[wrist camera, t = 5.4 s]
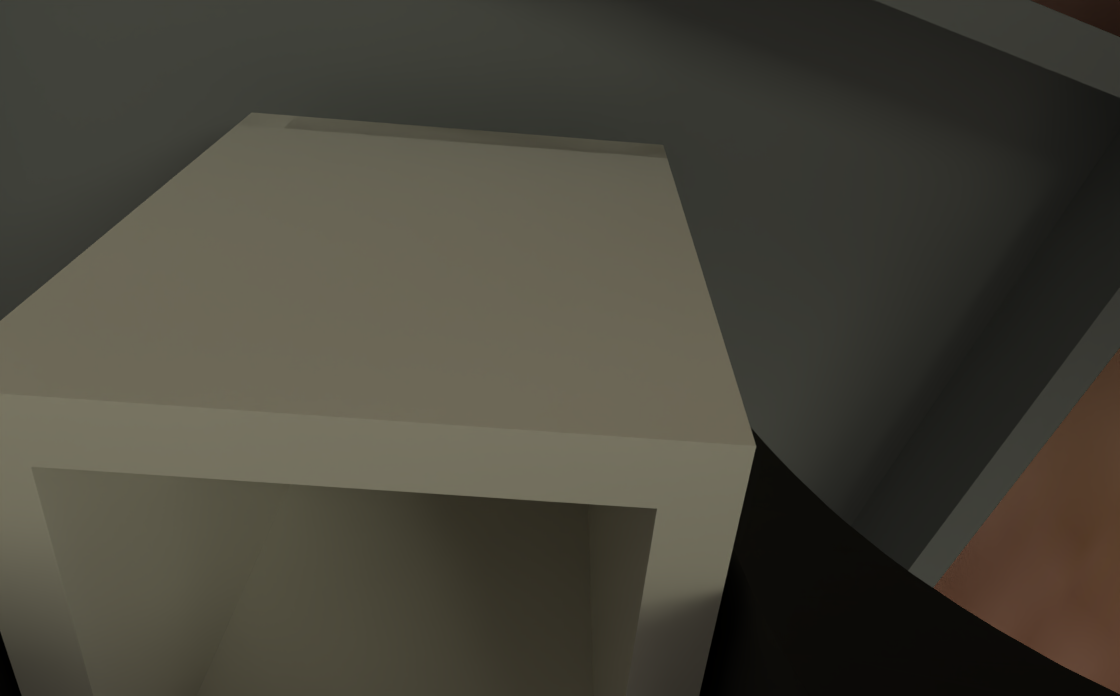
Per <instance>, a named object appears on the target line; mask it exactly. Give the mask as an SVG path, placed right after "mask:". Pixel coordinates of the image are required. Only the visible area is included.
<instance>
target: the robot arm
mask: <svg viewBox="0 0 1120 696" xmlns="http://www.w3.org/2000/svg"><path fill="white" fill-rule="evenodd" d="M750 428H751V427H750ZM751 431H752V434H753V437H754V441H755V444H756V449H755V454H754V458H753V462H752V467H751V471H750V475H749V480H748V484H747V489H746V493H745V497H744V502H743V506H742V510H741V515H740V519H739V524H738V528H737V532H736V537H735V541H734V545H733V550H732V554H731V559H730V563H729V567H728V572H727V576H726V580H725V585H724V589H723V593H722V598H721V602H720V607H719V611H718V615H717V620H716V624H715V628H714V633H713V637H712V642H711V646H710V650H709V655H708V659H707V663H706V668H705V672H704V677H703V681H702V685H701V690H700V694H699V696H1120V694H1118V693H1116V692H1114V691H1112V690H1110V689H1108V688H1106V687H1104V686H1102V685H1100V684H1098V683H1096V682H1093V681H1091V680H1089V679H1087V678H1085V677H1083V676H1081V675H1079V674H1077V673H1075V672H1073V671H1071V670H1069V669H1067V668H1065V667H1063V666H1061V665H1060V664H1058V663H1056V662H1054V661H1052V660H1050V659H1049V658H1047V657H1045V656H1043V655H1042V654H1040V653H1038V652H1036V651H1035V650H1033V649H1031V648H1029V647H1028V646H1026V645H1024V644H1022V643H1021V642H1019V641H1017V640H1015V639H1013V638H1012V637H1010V636H1008V635H1006V634H1005V633H1003V632H1001V631H999V630H998V629H996V628H994V627H993V626H991V625H990V624H988V623H986V622H985V621H983V620H981V619H980V618H978V617H977V616H975V615H973V614H972V613H970V612H968V611H967V610H965V609H964V608H962V607H961V606H959V605H957V604H956V603H954V602H953V601H952V600H950V599H949V598H947V597H946V596H944V595H943V594H941V593H940V592H938V591H937V590H935V589H934V588H932V587H931V586H929V585H928V584H926V583H925V582H924V581H922V580H921V579H919V578H918V577H916V576H915V575H913V574H912V573H910V572H909V571H908V570H906V569H905V568H904V567H902V566H901V565H900V564H898V563H897V562H895V561H894V560H893V559H891V558H890V557H889V556H887V555H886V554H885V553H883V552H882V551H881V550H880V549H879V548H877V547H876V546H875V545H874V544H872V543H871V542H870V541H869V540H867V539H866V538H865V537H864V536H862V535H861V534H860V533H859V532H858V531H856V530H855V529H854V528H853V527H851V526H850V525H849V524H848V523H846V522H845V521H844V520H843V519H842V518H841V517H839V516H838V515H837V514H836V513H835V512H834V511H833V510H832V509H830V508H829V507H828V506H827V505H826V504H825V503H824V502H823V501H822V500H821V499H820V498H819V497H818V496H817V495H815V494H814V493H813V492H812V491H811V490H810V489H809V488H808V487H807V486H806V485H805V484H804V483H803V482H802V481H801V480H800V479H799V478H798V477H797V476H796V475H795V474H794V473H793V472H792V471H791V470H790V469H789V468H788V467H787V466H786V465H785V464H784V463H783V462H782V461H781V460H780V459H779V458H778V457H777V456H776V455H775V454H774V452H773V451H772V450H771V449H770V448H769V447H768V446H767V445H766V444H765V443H764V441H763V440H762V439H761V438H760V437H759V436H758V435H757V434H756V433H755V431H754V430H753V429H752V428H751ZM0 696H22V695H21V692H20V689H19V686H18V683H17V680H16V677H15V674H14V671H13V668H12V665H11V662H10V659H9V656H8V653H7V650H6V647H5V644H4V641H3V638H2V635H1V632H0Z"/></svg>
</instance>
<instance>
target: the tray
mask: <svg viewBox="0 0 1120 696" xmlns="http://www.w3.org/2000/svg"><path fill="white" fill-rule="evenodd" d="M250 113H265V114H277V115H290V116H303V117H315V118H328V119H341V120H353V121H366V122H379V123H391V124H404V125H417V126H429V127H442V128H455V129H468V130H480V131H493V132H506V133H518V134H531V135H544V136H556V137H569V138H582V139H594V140H607V141H620V142H632V143H645V144H658V145H663V146H664V150H665V153H666V156H667V159H668V162H669V166H670V169H671V172H672V175H673V179H674V182H675V185H676V188H677V192H678V195H679V198H680V201H681V205H682V208H683V211H684V214H685V217H686V221H687V224H688V227H689V230H690V234H691V237H692V240H693V243H694V247H695V250H696V253H697V256H698V259H699V263H700V266H701V269H702V272H703V276H704V279H705V282H706V285H707V289H708V292H709V295H710V298H711V301H712V305H713V308H714V311H715V314H716V318H717V321H718V324H719V327H720V331H721V334H722V337H723V340H724V344H725V347H726V350H727V353H728V356H729V360H730V363H731V366H732V369H733V373H734V376H735V379H736V382H737V386H738V389H739V392H740V395H741V398H742V402H743V405H744V408H745V411H746V415H747V418H748V421H749V424H750V427H751V428H752V429H753V430H754V431H755V433H756V434H757V435H758V436H759V437H760V438H761V439H762V440H763V441H764V443H765V444H766V445H767V446H768V447H769V448H770V449H771V450H772V451H773V452H774V454H775V455H776V456H777V457H778V458H779V459H780V460H781V461H782V462H783V463H784V464H785V465H786V466H787V467H788V468H789V469H790V470H791V471H792V472H793V473H794V474H795V475H796V476H797V477H798V478H799V479H800V480H801V481H802V482H803V483H804V484H805V485H806V486H807V487H808V488H809V489H810V490H811V491H812V492H813V493H814V494H815V495H817V496H818V497H819V498H820V499H821V500H822V501H823V502H824V503H825V504H826V505H827V506H828V507H829V508H830V509H832V510H833V511H834V512H835V513H836V514H837V515H838V516H839V517H841V518H842V519H843V520H844V521H845V522H846V523H848V524H849V525H850V526H851V527H853V528H854V529H855V530H856V531H858V532H859V533H860V534H861V535H862V536H864V537H865V538H866V539H867V540H869V541H870V542H871V543H872V544H874V545H875V546H876V547H877V548H879V549H880V550H881V551H882V552H883V553H885V554H886V555H887V556H889V557H890V558H891V559H893V560H894V561H895V562H897V563H898V564H900V565H901V566H902V567H904V568H905V569H906V570H908V571H909V572H910V573H912V574H913V575H915V576H916V577H918V578H919V579H921V580H922V581H924V582H925V583H926V584H928V585H929V586H931V587H932V588H933V587H934V586H935V585H936V583H937V582H938V581H939V580H940V578H941V577H942V576H943V574H944V573H945V572H946V571H947V569H948V568H949V567H950V565H951V564H952V563H953V562H954V560H955V559H956V558H957V556H958V555H959V554H960V553H961V551H962V550H963V549H964V547H965V546H966V545H967V544H968V542H969V541H970V540H971V538H972V537H973V536H974V535H975V533H976V532H977V531H978V529H979V528H980V527H981V526H982V524H983V523H984V522H985V520H986V519H987V518H988V517H989V515H990V514H991V513H992V511H993V510H994V509H995V508H996V506H997V505H998V504H999V502H1000V501H1001V500H1002V498H1003V497H1004V496H1005V495H1006V493H1007V492H1008V491H1009V489H1010V488H1011V487H1012V486H1013V484H1014V483H1015V482H1016V480H1017V479H1018V478H1019V477H1020V475H1021V474H1022V473H1023V471H1024V470H1025V469H1026V468H1027V466H1028V465H1029V464H1030V462H1031V461H1032V460H1033V459H1034V457H1035V456H1036V455H1037V453H1038V452H1039V451H1040V450H1041V448H1042V447H1043V446H1044V444H1045V443H1046V442H1047V441H1048V439H1049V438H1050V437H1051V435H1052V434H1053V433H1054V432H1055V430H1056V429H1057V428H1058V426H1059V425H1060V424H1061V423H1062V421H1063V420H1064V419H1065V417H1066V416H1067V415H1068V414H1069V412H1070V411H1071V410H1072V408H1073V407H1074V406H1075V404H1076V403H1077V402H1078V401H1079V399H1080V398H1081V397H1082V395H1083V394H1084V393H1085V392H1086V390H1087V389H1088V388H1089V386H1090V385H1091V384H1092V383H1093V381H1094V380H1095V379H1096V377H1097V376H1098V375H1099V374H1100V372H1101V371H1102V370H1103V368H1104V367H1105V366H1106V365H1107V363H1108V362H1109V361H1110V359H1111V358H1112V357H1113V356H1114V354H1115V353H1116V352H1117V350H1118V349H1119V348H1120V37H1118V36H1116V35H1113V34H1111V33H1108V32H1106V31H1104V30H1101V29H1099V28H1096V27H1094V26H1091V25H1089V24H1086V23H1084V22H1082V21H1079V20H1077V19H1074V18H1072V17H1069V16H1067V15H1065V14H1062V13H1060V12H1057V11H1055V10H1052V9H1050V8H1048V7H1045V6H1043V5H1040V4H1038V3H1035V2H1033V1H1030V0H0V321H1V320H2V319H3V318H4V317H6V316H7V315H8V314H9V313H10V312H12V311H13V310H14V309H15V308H16V307H18V306H19V305H20V304H21V303H22V302H24V301H25V300H26V299H27V298H28V297H30V296H31V295H32V294H33V293H35V292H36V291H37V290H38V289H39V288H41V287H42V286H43V285H44V284H45V283H47V282H48V281H49V280H50V279H51V278H53V277H54V276H55V275H56V274H57V273H59V272H60V271H61V270H62V269H63V268H65V267H66V266H67V265H68V264H70V263H71V262H72V261H73V260H74V259H76V258H77V257H78V256H79V255H80V254H82V253H83V252H84V251H85V250H86V249H88V248H89V247H90V246H91V245H92V244H94V243H95V242H96V241H97V240H98V239H100V238H101V237H102V236H103V235H104V234H106V233H107V232H108V231H109V230H111V229H112V228H113V227H114V226H115V225H117V224H118V223H119V222H120V221H121V220H123V219H124V218H125V217H126V216H127V215H129V214H130V213H131V212H132V211H133V210H135V209H136V208H137V207H138V206H139V205H141V204H142V203H143V202H144V201H146V200H147V199H148V198H149V197H150V196H152V195H153V194H154V193H155V192H156V191H158V190H159V189H160V188H161V187H162V186H164V185H165V184H166V183H167V182H168V181H170V180H171V179H172V178H173V177H174V176H176V175H177V174H178V173H179V172H181V171H182V170H183V169H184V168H185V167H187V166H188V165H189V164H190V163H191V162H193V161H194V160H195V159H196V158H197V157H199V156H200V155H201V154H202V153H203V152H205V151H206V150H207V149H208V148H209V147H211V146H212V145H213V144H214V143H216V142H217V141H218V140H219V139H220V138H222V137H223V136H224V135H225V134H226V133H228V132H229V131H230V130H231V129H232V128H234V127H235V126H236V125H237V124H238V123H240V122H241V121H242V120H243V119H244V118H246V117H247V116H248V115H249V114H250Z"/></svg>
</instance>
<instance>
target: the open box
mask: <svg viewBox="0 0 1120 696" xmlns="http://www.w3.org/2000/svg"><path fill="white" fill-rule="evenodd" d="M755 449H756V444H755V441H754V437H753V434H752V431H751V428H750V424H749V421H748V418H747V415H746V411H745V408H744V405H743V402H742V398H741V395H740V392H739V389H738V386H737V382H736V379H735V376H734V373H733V369H732V366H731V363H730V360H729V356H728V353H727V350H726V347H725V344H724V340H723V337H722V334H721V331H720V327H719V324H718V321H717V318H716V314H715V311H714V308H713V305H712V301H711V298H710V295H709V292H708V289H707V285H706V282H705V279H704V276H703V272H702V269H701V266H700V263H699V259H698V256H697V253H696V250H695V247H694V243H693V240H692V237H691V234H690V230H689V227H688V224H687V221H686V217H685V214H684V211H683V208H682V205H681V201H680V198H679V195H678V192H677V188H676V185H675V182H674V179H673V175H672V172H671V169H670V166H669V162H668V159H667V156H666V153H665V150H664V146H663V145H658V144H645V143H632V142H620V141H607V140H594V139H582V138H569V137H556V136H544V135H531V134H518V133H506V132H493V131H480V130H468V129H455V128H442V127H429V126H417V125H404V124H391V123H379V122H366V121H353V120H341V119H328V118H315V117H303V116H290V115H277V114H265V113H250V114H249V115H248V116H247V117H246V118H244V119H243V120H242V121H241V122H240V123H238V124H237V125H236V126H235V127H234V128H232V129H231V130H230V131H229V132H228V133H226V134H225V135H224V136H223V137H222V138H220V139H219V140H218V141H217V142H216V143H214V144H213V145H212V146H211V147H209V148H208V149H207V150H206V151H205V152H203V153H202V154H201V155H200V156H199V157H197V158H196V159H195V160H194V161H193V162H191V163H190V164H189V165H188V166H187V167H185V168H184V169H183V170H182V171H181V172H179V173H178V174H177V175H176V176H174V177H173V178H172V179H171V180H170V181H168V182H167V183H166V184H165V185H164V186H162V187H161V188H160V189H159V190H158V191H156V192H155V193H154V194H153V195H152V196H150V197H149V198H148V199H147V200H146V201H144V202H143V203H142V204H141V205H139V206H138V207H137V208H136V209H135V210H133V211H132V212H131V213H130V214H129V215H127V216H126V217H125V218H124V219H123V220H121V221H120V222H119V223H118V224H117V225H115V226H114V227H113V228H112V229H111V230H109V231H108V232H107V233H106V234H104V235H103V236H102V237H101V238H100V239H98V240H97V241H96V242H95V243H94V244H92V245H91V246H90V247H89V248H88V249H86V250H85V251H84V252H83V253H82V254H80V255H79V256H78V257H77V258H76V259H74V260H73V261H72V262H71V263H70V264H68V265H67V266H66V267H65V268H63V269H62V270H61V271H60V272H59V273H57V274H56V275H55V276H54V277H53V278H51V279H50V280H49V281H48V282H47V283H45V284H44V285H43V286H42V287H41V288H39V289H38V290H37V291H36V292H35V293H33V294H32V295H31V296H30V297H28V298H27V299H26V300H25V301H24V302H22V303H21V304H20V305H19V306H18V307H16V308H15V309H14V310H13V311H12V312H10V313H9V314H8V315H7V316H6V317H4V318H3V319H2V320H1V321H0V632H1V635H2V638H3V641H4V644H5V647H6V650H7V653H8V656H9V659H10V662H11V665H12V668H13V671H14V674H15V677H16V680H17V683H18V686H19V689H20V692H21V695H22V696H699V694H700V690H701V685H702V681H703V677H704V672H705V668H706V663H707V659H708V655H709V650H710V646H711V642H712V637H713V633H714V628H715V624H716V620H717V615H718V611H719V607H720V602H721V598H722V593H723V589H724V585H725V580H726V576H727V572H728V567H729V563H730V559H731V554H732V550H733V545H734V541H735V537H736V532H737V528H738V524H739V519H740V515H741V510H742V506H743V502H744V497H745V493H746V489H747V484H748V480H749V475H750V471H751V467H752V462H753V458H754V454H755Z"/></svg>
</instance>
